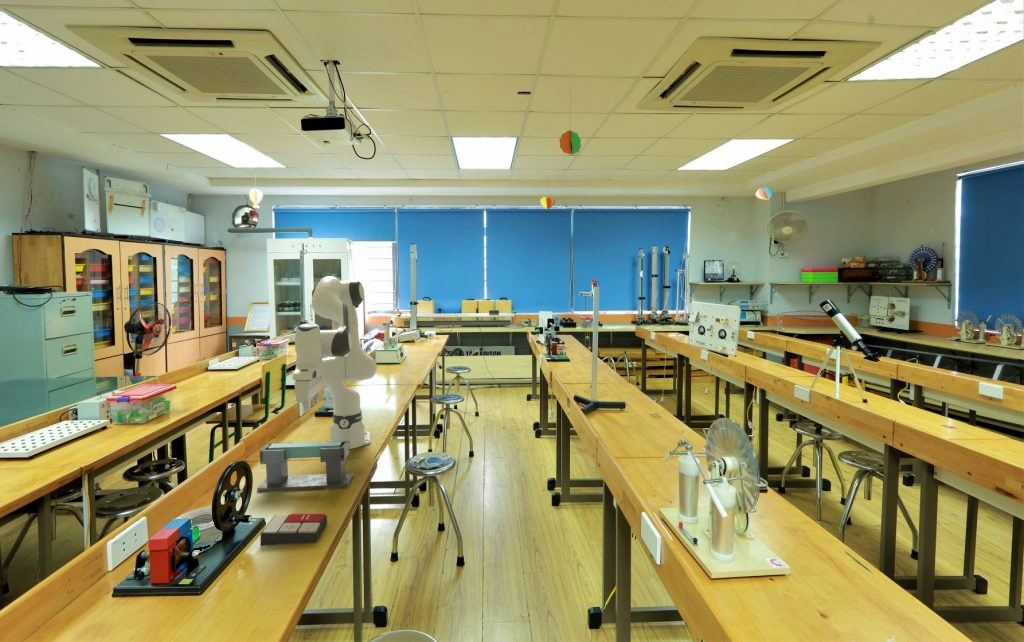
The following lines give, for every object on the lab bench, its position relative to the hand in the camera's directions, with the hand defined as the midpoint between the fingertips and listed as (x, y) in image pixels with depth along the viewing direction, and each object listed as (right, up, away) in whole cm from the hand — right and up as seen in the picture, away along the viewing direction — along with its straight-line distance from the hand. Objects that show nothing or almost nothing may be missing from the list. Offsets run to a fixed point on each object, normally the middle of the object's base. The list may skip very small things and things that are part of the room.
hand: (311, 407), depth 177 cm
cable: (-16, -31, -37) cm, 51 cm away
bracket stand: (-1, -27, -1) cm, 27 cm away
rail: (-1, -17, -2) cm, 17 cm away
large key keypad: (+10, -30, -35) cm, 48 cm away
